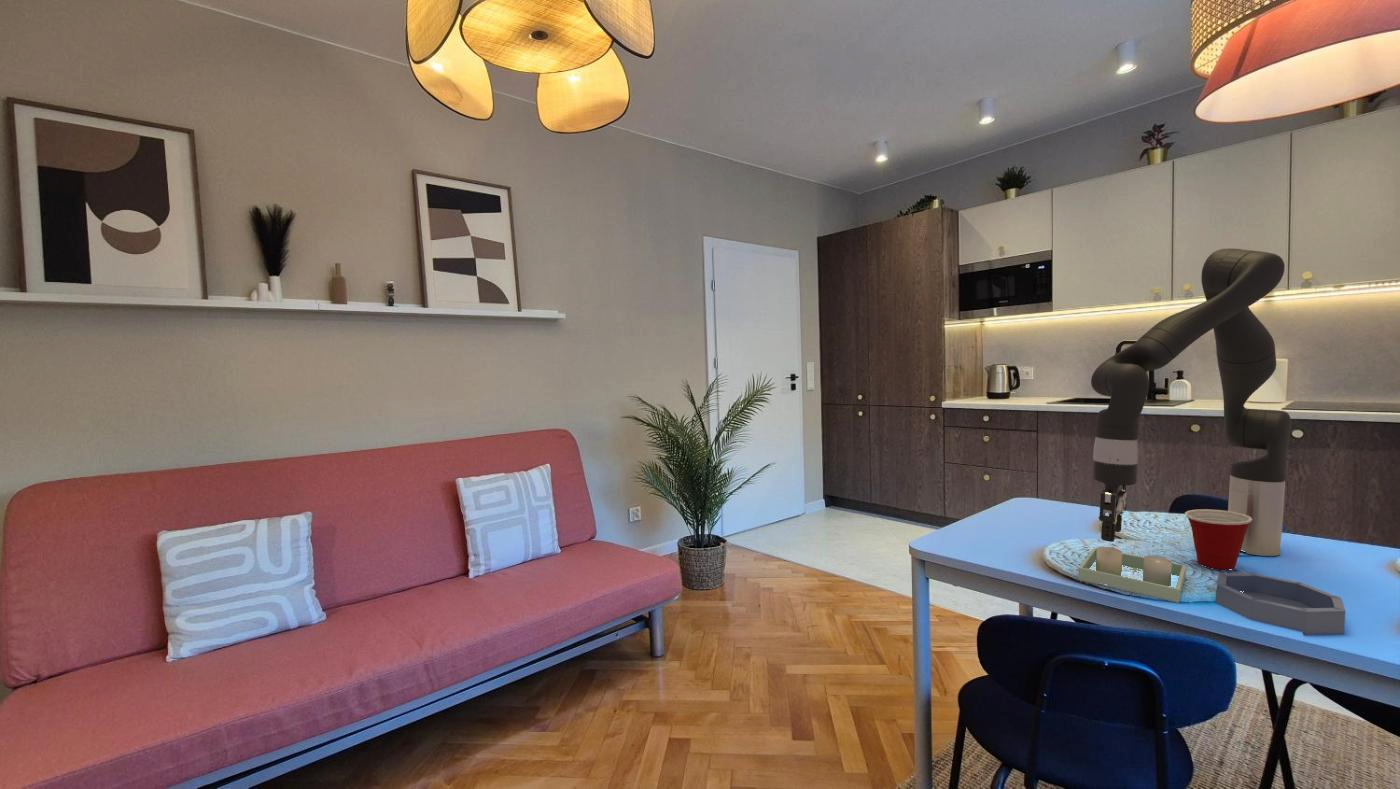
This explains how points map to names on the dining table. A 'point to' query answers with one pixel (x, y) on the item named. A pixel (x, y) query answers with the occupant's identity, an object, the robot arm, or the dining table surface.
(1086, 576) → the tray
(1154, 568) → the beige rounded piece
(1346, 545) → the dining table surface
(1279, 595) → the bowl
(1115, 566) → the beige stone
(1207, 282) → the robot arm
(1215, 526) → the plastic cup
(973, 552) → the dining table surface
